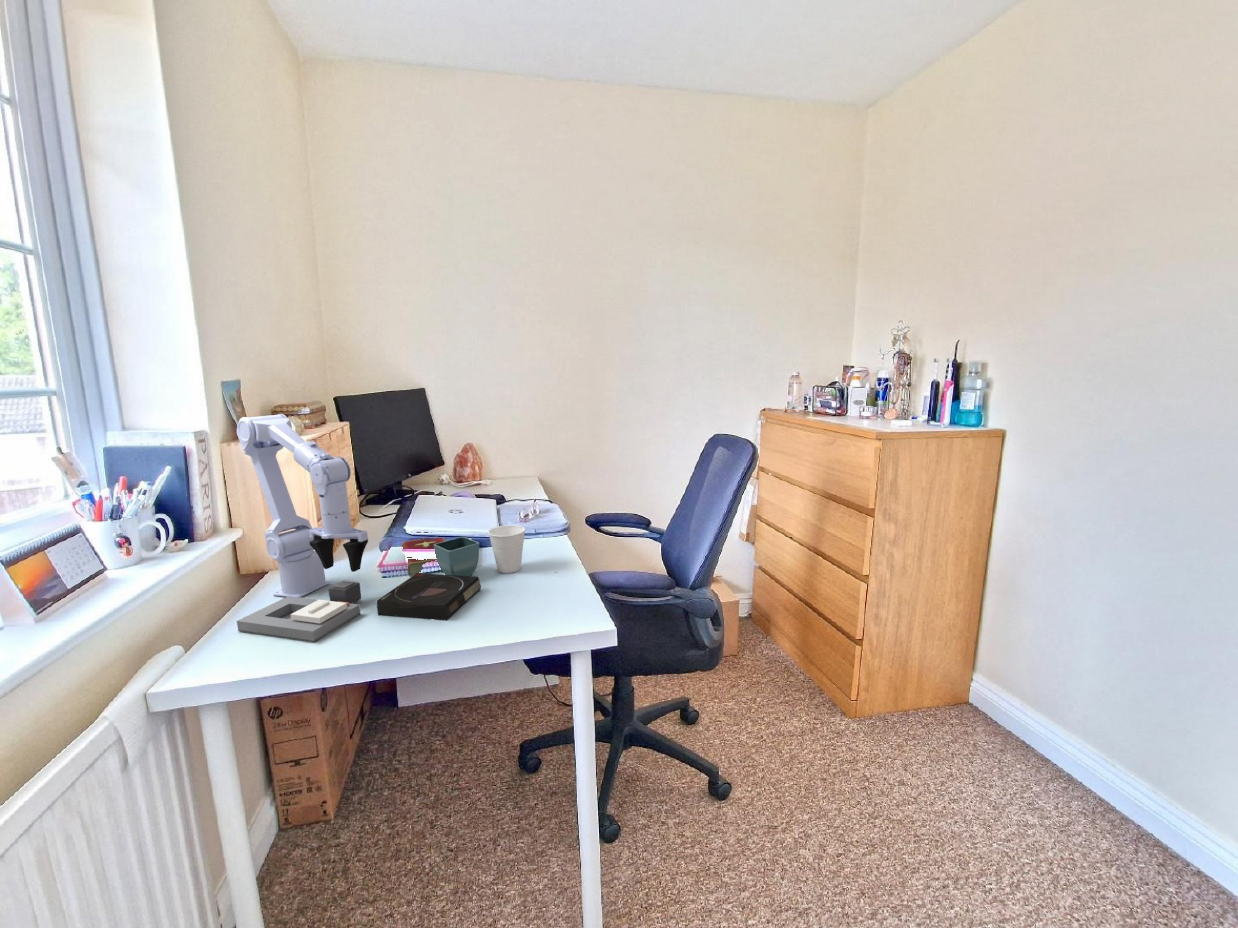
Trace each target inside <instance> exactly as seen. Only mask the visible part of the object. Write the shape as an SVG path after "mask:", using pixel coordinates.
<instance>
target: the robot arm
mask: <svg viewBox="0 0 1238 928" xmlns="http://www.w3.org/2000/svg"><path fill="white" fill-rule="evenodd" d="M236 436H237V437H238V441H239V443H240V446H241V449H242V451H243V454H244V455H246V456H249V457H250V460H251V463H252V466H253V468H254V471H255V474H256V477H257V479H258V480H257V481H259V482H258V483H259V485H260V488H261V490H262V491H261V492H262V493H263V497H264V499H265V502H266V506H267V508H268V510H269V513H270V516H271V519H272V523H271V525H269V527H268V528H267V529H266V531H265V532H264V539H265V543H266V545H265V546H266V552H267V554H268V556H269V557H270V558H271V559H273V561H276V562H277V567H278V573H279V580H280V587H281V589H279V590H277V591H275V592H274V593H273V596H276V597H284V598H286V597H288V596H292V597H300V598H303V597H304V596H307V595H308V594H310V593H312V592H315V591H316V590H318V589H320V588H323V587H324V586H326V585H328V584H329V582H328V581H326V575H325V570H328V569H330V568H332V567H334V562H335V559H334V543H335V539H336V540H346V542H345V543H343V544H342V547H343V548H344V550H345V552H346V555H347V557H348V562H349V568H350V571H351V572H353V573H354V572H357V571H359V570H361V566H362V558H363V556H364V551H365V549H366V546H367V544H368V543H369V536H368V531H367V530H361V529H358V528H354V527H352V523H351V514H350V505H349V496H348V487H347V482H348V481H349V480H350V479H351V475H352V474H351V473H352V470H351V467H350V464H349V462H348V461H347V459H345V458H344V457H342V456H337V457H336V456H332V455H331V454H330V453H329V452H327V451H326V450H324V449H323V448H322V447H321V446H319V444H318V443H317V442H315V441H305V440H304V439H303V438H302V437H301V436H300V435H299V434H298V433H297V432H296V431H295V430H294V429H293V425H292V421H291V419H290V418H288V416H287V415H285V414H283V413H278V414H274V415H273V414H272V415H270V414H269V415H260V416H259V415H258V416H251V417H250V416H249V417H247V416H243V417H241V418H240V419H239V421H238V422H237V427H236ZM283 448H286V449H287V450H288V451H290V452H292V453H293V454H292V458H293V460H294V461H295V462H296V463H297V464H298V465H299V466H300V467H302V468H303V469H304V470H305V471H307V472H308V473H309V476H310V480H311V483H313V485H314V490H315V492H316V494H317V495H318V499H319V506H320V507H319V508H320V514H321V523H322V527H312V524H311V523H310V520H309V519H307V518H304V517H301V516H299V515H298V514H297V513H296V508H295V506H294V504H293V501H292V499H291V498H292V497H291V496H290V492H289V491H288V490H289V489H288V487H287V484H286V481H285V479H284V476H283V473H282V470H281V467H280V465H279V462H278V459H277V453H278V452H279V451H281V450H283ZM286 531H287V532H286ZM347 541H348V542H347Z"/></svg>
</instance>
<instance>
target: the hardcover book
mask: <svg viewBox="0 0 1238 928" xmlns="http://www.w3.org/2000/svg"><path fill="white" fill-rule="evenodd" d="M421 539H422V540H421ZM444 541H447V540H446V538H445V537H444V538H436V539H424V538H419V539H413V540H405V541H402V543H401V548H402V547H403V549H434V544H436V543H440V542H444ZM407 558H412V557H407ZM435 560H437V559H427V560H426V559H424V560H418V559H417V560H416V559H408V570H407V572H408V576H409V577H412V576H414V575H415V574H417V573H419V572H421V570H422V569H423V567H422V565H423V564H425V563H426V562H431V561H435Z"/></svg>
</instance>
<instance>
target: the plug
mask: <svg viewBox="0 0 1238 928" xmlns="http://www.w3.org/2000/svg"><path fill="white" fill-rule="evenodd" d="M328 595H329V601H334V602H338V601H340V602H348V603H351V604H356V602H358V601H360V600H361V599H362V593H361V583H360V582H358V581H357V582H356V581H348V580H342V581H340V582H339V583H336V584H335V585H333V586H330V587H329V588H328Z"/></svg>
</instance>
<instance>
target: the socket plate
mask: <svg viewBox="0 0 1238 928" xmlns="http://www.w3.org/2000/svg"><path fill="white" fill-rule="evenodd" d="M317 600H318V599H316V598H308V597H292V596H288V597H284V598H282V599H279V600H278V601H276V602H273V603H271V604H270V605H268V606H265V607H263V608H261V609H259V610H257V611H254V612H253V613H250V614H248V615H246V616H244V617H242V618H240V619H238V620H236V625H237V631H240V632H239V633H246V634H253V635H259V634H260V636H266V637H274V638H281V639H286V638H287V639H288V640H295V641H302V642H308V643H316V642H317V641H319V640H321V639H323V638H324V637H326V636H328V635H329V634H330V633H332V632H334V631H336V630H338V629H339V628H341V627H343V626H344V625H346V624H348V623H349V622H351V621H352V620H354V619H355V618H357V617H359V616H361V614H362V613H361V606H360V604H359V603H353V604H351V603H348V602H343V603H347V608H346V609H345V610H343V611H341V612H339V613H338V614H336V615H334V616H332V617H331V618H329V619H327V620H325V621H324V622H322V623H312V622H305V621H297V620H291V614H292V613H294V612H296V611H298V610H300V609H302V608H304V607H306V606H308V605H310V604H311V603H313V602H315V601H317ZM338 602H340V601H338Z"/></svg>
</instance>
